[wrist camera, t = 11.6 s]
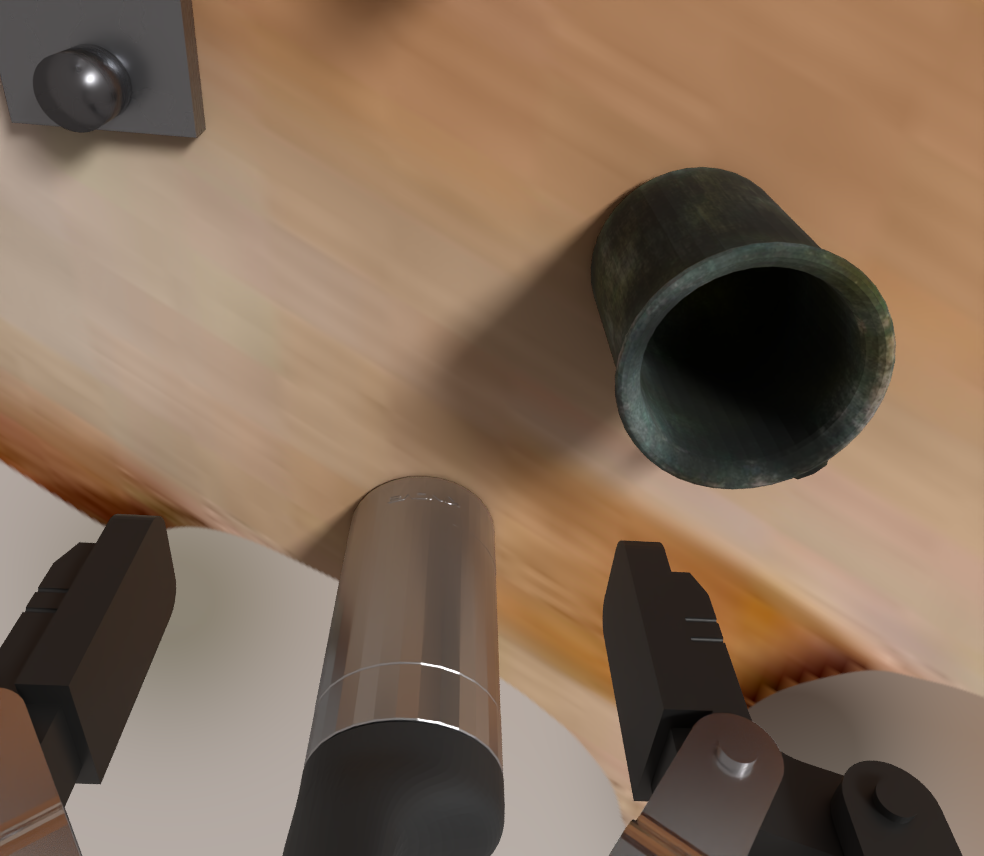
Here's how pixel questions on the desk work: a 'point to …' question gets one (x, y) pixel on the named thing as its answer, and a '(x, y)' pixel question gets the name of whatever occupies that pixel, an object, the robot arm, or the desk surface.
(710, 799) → the robot arm
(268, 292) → the desk surface
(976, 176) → the desk surface
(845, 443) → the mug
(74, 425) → the desk surface
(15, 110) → the two-tone base plate
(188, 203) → the desk surface
